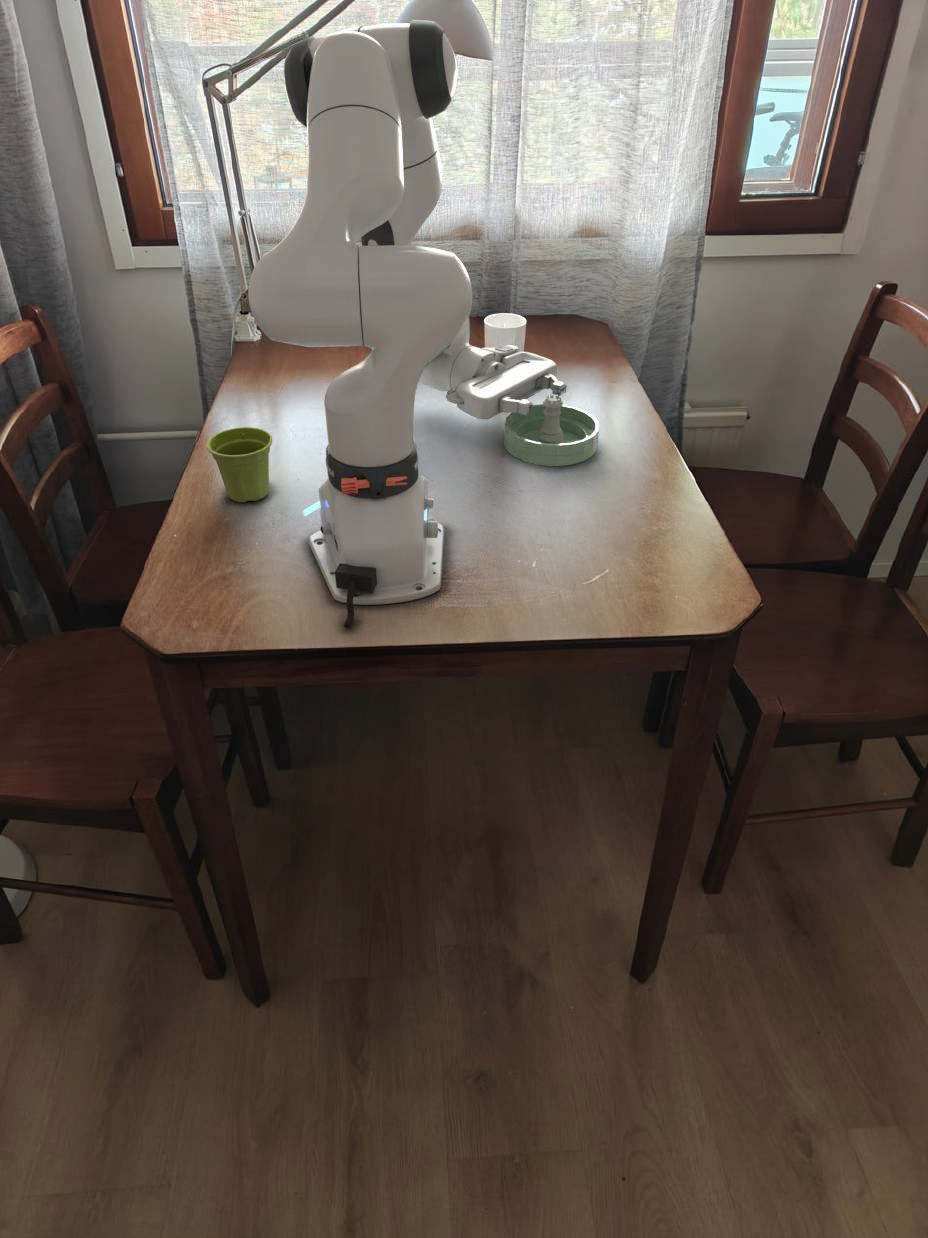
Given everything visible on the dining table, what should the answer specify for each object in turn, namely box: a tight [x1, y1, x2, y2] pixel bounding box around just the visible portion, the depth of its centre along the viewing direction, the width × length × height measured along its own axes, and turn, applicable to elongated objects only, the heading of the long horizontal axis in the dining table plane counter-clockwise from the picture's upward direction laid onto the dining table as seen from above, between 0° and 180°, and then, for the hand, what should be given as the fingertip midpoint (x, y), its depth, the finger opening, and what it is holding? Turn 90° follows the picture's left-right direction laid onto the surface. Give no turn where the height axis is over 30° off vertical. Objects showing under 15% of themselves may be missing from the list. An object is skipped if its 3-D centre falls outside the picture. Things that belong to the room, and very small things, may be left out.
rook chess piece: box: [537, 394, 564, 444], centre depth 142 cm, size 4×4×8 cm
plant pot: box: [206, 426, 273, 503], centre depth 130 cm, size 9×9×9 cm
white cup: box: [483, 312, 527, 352], centre depth 166 cm, size 8×8×10 cm
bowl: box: [503, 403, 600, 467], centre depth 143 cm, size 15×15×4 cm
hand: (547, 399), depth 140 cm, fingers open, 8 cm apart
